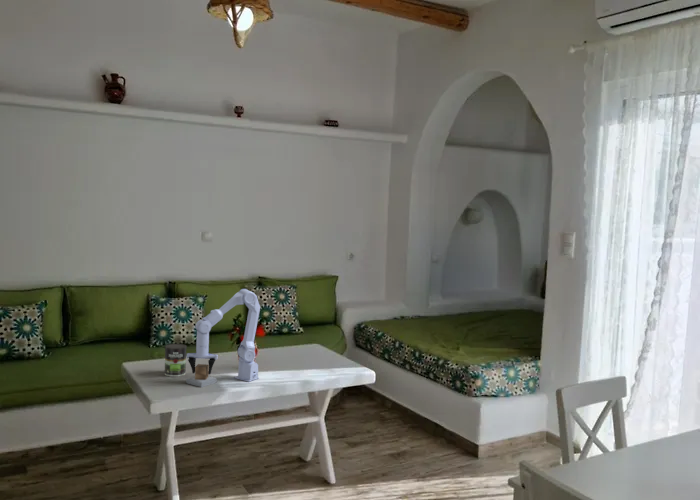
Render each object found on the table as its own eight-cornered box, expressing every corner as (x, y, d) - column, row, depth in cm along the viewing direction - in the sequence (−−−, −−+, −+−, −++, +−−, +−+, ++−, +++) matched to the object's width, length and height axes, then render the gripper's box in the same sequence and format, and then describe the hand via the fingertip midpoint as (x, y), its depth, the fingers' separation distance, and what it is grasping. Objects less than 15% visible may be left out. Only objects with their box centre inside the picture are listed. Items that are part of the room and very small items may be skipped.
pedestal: (216, 382, 293) (216, 377, 293) (201, 387, 284) (201, 382, 284) (201, 378, 298) (201, 373, 298) (186, 383, 289) (186, 378, 289)
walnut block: (208, 376, 294) (208, 364, 293) (205, 379, 289) (205, 367, 288) (197, 376, 294) (198, 364, 293) (195, 379, 289) (195, 366, 288)
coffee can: (185, 376, 300) (186, 348, 298) (164, 377, 297) (164, 348, 296) (185, 370, 309) (186, 343, 308) (164, 371, 307) (165, 343, 305)
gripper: (219, 344, 293) (218, 371, 295) (189, 342, 294) (189, 370, 295) (216, 347, 286) (215, 375, 287) (185, 346, 287) (184, 374, 288)
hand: (201, 373), depth 291 cm, fingers open, 7 cm apart
